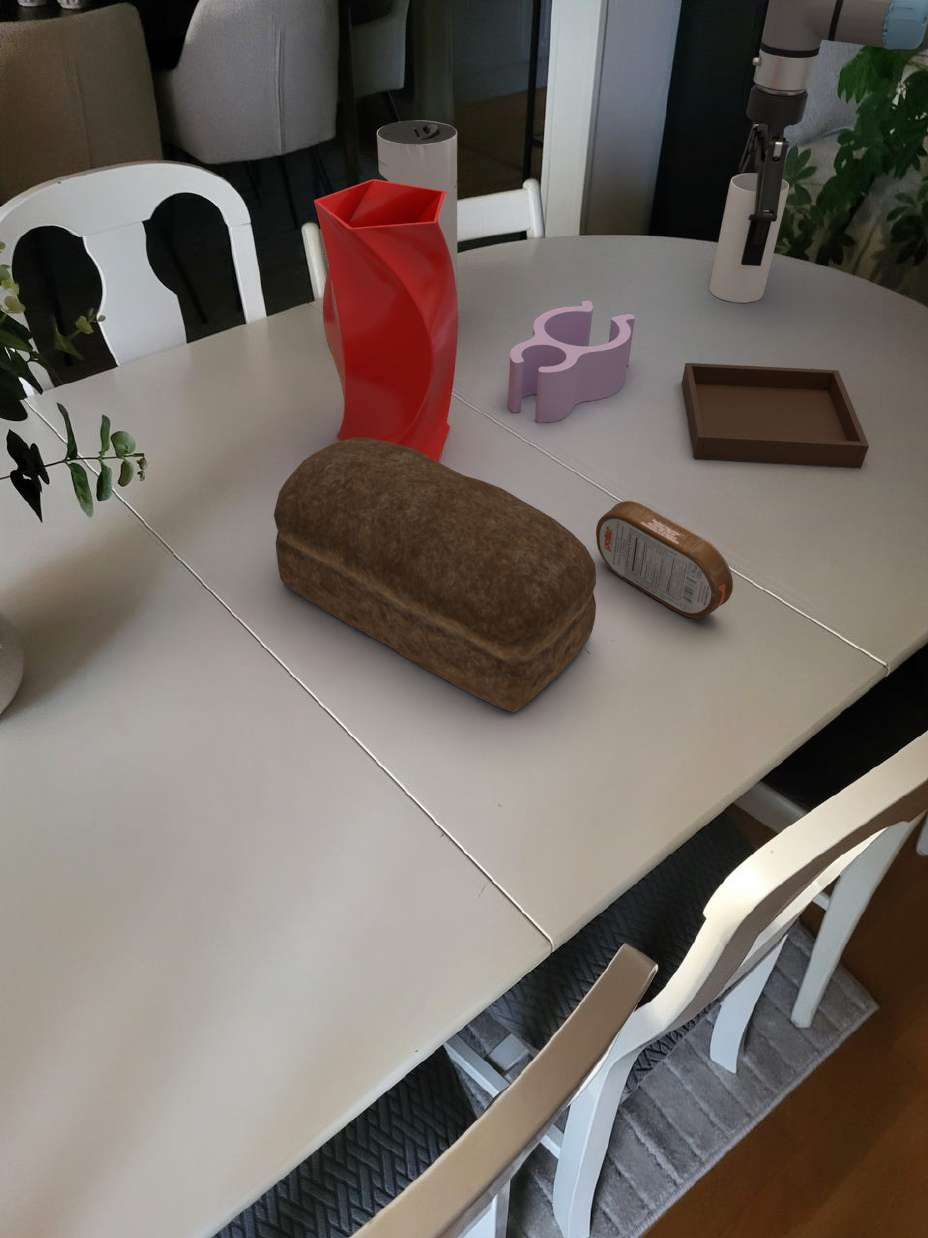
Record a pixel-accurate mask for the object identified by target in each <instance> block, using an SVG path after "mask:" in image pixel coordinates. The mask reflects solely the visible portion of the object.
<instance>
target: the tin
mask: <svg viewBox="0 0 928 1238" xmlns="http://www.w3.org/2000/svg"><path fill="white" fill-rule="evenodd" d="M595 537H596V539H595V540H596V546H597V550H598V553H599V554H600V556H601V558H602V560H603V561H604V563H605V564H606V565H607V566H608V567H609V569H610V570H611V571H612V572H613V573H614V574H615V575H617V576H618V577H619V578H621V579H622V580H624V581H626V582H628V583H629V584H631V585H632V586H634V587H635V588H637V589H639V590H640V591H642V592H643V593H645V594H647V595H648V596H650V597H652V598H653V599H655V600H656V601H658V602H660V603H661V604H663V605H664V606H666V607H668V608H669V609H671V610H672V611H674V612H675V613H677V614H679V615H681V616H684V617H688V618H691V619H699V618H704V617H707V616H709V615H710V614H712V613H714V612H715V611H716V610H718V608H720V606H723V605H724V604H726V603H727V602H728V600H729V599H730V598H731V596H732V593H733V590H734V579H733V574H732V572H731V569H730V566H729V563H728V562H727V560H726V559H725V557H724V556H723V555H722V553H721V552H720V551H719V550H718V549H717V547H715V545H713V544H712V543H711V542H709V541H708V540H706V539H704V538H702V537H701V536H699V535H698V534H696V533H694V532H692V531H690V530H689V529H687V528H686V527H683V526H681V525H680V524H677V523H676V522H674V521H672V520H671V519H669V518H668V517H665V516H663V515H662V514H660V513H658V512H657V511H655V510H653V509H652V508H650V507H648V506H646V505H644V504H643V503H640V502H637V501H632V500H625V501H620V502H618V503H617V504H615V505H614V506H613V507H612V508H611V509H610V510H608V511H607V512H606V513H604V514H603V515H602V516H601V517H600V519H598V521H597V524H596V529H595Z"/></svg>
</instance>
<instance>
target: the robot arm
mask: <svg viewBox="0 0 928 1238" xmlns="http://www.w3.org/2000/svg"><path fill="white" fill-rule="evenodd" d="M927 27H928V0H768V6H767V10H766V15H765V21H764V25H763V29H762V30H763V31H762V35H761V36H762V37H761V41H760V45H759V52H758V53H759V55H758V57H753V59H752V63H751V64H752V66H755V71H754V76H753V82H754V85H753V86H752V87H751V88H750V92H749V97H748V102H747V107H746V111H745V113H746V117H747V118H748V119H749V120H750V121H751V122H752V126H751V128H750V132H749V135H748V138H747V141H746V144H745V147H744V150H743V154H742V155H741V159H740V162H739V165H738V168H737V169H738V172H739V175H740V174H746V173H758V175H757V187H756V198H755V210H754V214H750V215H749V217H748V220H751V221H750V225H749V230H748V234H747V238H746V243H745V247H744V252H743V256H742V260H741V265H750V266H761V262H762V258H763V254H764V250H765V246H766V242H767V238H768V234H769V229H770V225H771V222H775V221H776V220H777V212H778V205H779V198H780V191H781V184H782V179H783V177H784V169H785V162H786V158H787V154H788V149H789V147H790V146H789V141H788V140H787V138H786V137H784V135H785V129H786V128H787V127H790V126H795V125H797V124H799V123H801V121H802V120H803V118H804V114H805V111H806V106H807V102H808V98H809V92H808V89H809V88H810V87H811V86H812V84H813V79H814V76H815V72H816V68H817V63H818V59H819V55H820V50H821V44H822V41H829V42H838V43H844V44H852V45H860V46H868V47H875V48H884V49H886V50H888V51H892V50H893V51H894V50H909V51H910V50H916V49H917V48H918V47H919V46H920V45H921V44H922V43H923V40H924V38H925V33H926V30H927ZM764 210H769V212H763V211H764Z"/></svg>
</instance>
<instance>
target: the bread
mask: <svg viewBox="0 0 928 1238" xmlns="http://www.w3.org/2000/svg"><path fill="white" fill-rule="evenodd" d="M273 519H274V522H275V527H276V529H277V533H276V537H275V538H276V539H275V551H276V552H275V553H276V560H277V567H278V572H279V579H280V580H281V582H282V584H283V585H284V586H285V587H286V588H288V589H290V590H292V591H294V592H295V593H296V594H298V595H300V596H302V597H303V598H305V599H306V600H308V601H309V602H311V603H313V604H314V605H316V606H318V607H319V608H321V609H322V610H324V611H325V612H327V613H328V614H330V615H332V616H334V617H336V618H337V619H339V620H341V621H342V622H344V623H346V624H348V625H349V626H352V627H353V628H355V629H356V630H359V631H360V632H362V633H364V634H366V635H368V636H369V637H372V638H374V639H375V640H377V641H379V642H381V643H382V644H384V645H386V646H388V647H390V648H391V649H393V650H395V651H396V652H398V653H399V654H401V655H402V656H404V657H406V658H407V659H409V660H410V661H412V662H413V663H415V664H417V665H418V666H420V667H421V668H423V669H425V670H426V671H429V672H431V673H433V674H435V675H437V676H439V677H440V678H441V679H444V680H446V681H448V682H449V683H451V684H453V685H454V686H456V687H458V688H460V689H462V690H463V691H465V692H468V693H470V694H472V695H473V696H475V697H477V698H479V699H481V700H483V701H484V702H487V703H489V704H491V705H493V706H495V707H498V709H499V708H500V709H502V710H504V711H509V712H511V713H515V712H516V711H518V710H520V709H521V708H523V707H524V706H526V704H528V703H529V702H530V701H531V700H533V699H534V698H535V697H536V696H538V694H539V693H541V692H542V690H544V689H545V688H546V687H547V686H548V685H549V684H550V683H551V682H552V681H553V680H554V679H555V678H556V677H557V676H558V675H559V674H560V673H561V672H562V671H563V670H564V669H565V668H567V666H568V665H569V664H570V663H571V662H572V661H573V659H575V657H576V656H577V655H578V654H579V652H580V651H581V650H582V648H583V647H584V646H585V645H586V644H587V642H588V641H589V640H590V637H591V635H592V633H593V631H594V625H595V622H596V613H597V603H596V598H595V589H596V586H597V568H596V567H597V566H596V563H595V561H594V559H593V557H592V555H591V554H590V551H589V550H588V548H587V546H586V545H584V544H583V542H582V541H581V540H580V539H579V538H578V537H577V536H576V535H575V534H574V533H572V531H570V530H569V529H568V528H567V527H565V526H564V525H562V524H561V523H560V522H559V521H557V520H556V519H555V518H554V517H552V516H550V515H548V514H547V513H545V512H543V511H542V510H540V509H539V508H537V507H535V506H533V505H531V504H529V503H527V502H526V501H523V500H522V499H521V498H519V497H517V496H515V495H514V494H512V493H511V492H510V491H509V492H508V491H507V490H506V489H504V488H501V487H499V486H497V485H495V484H492V483H490V482H487V481H485V480H481V479H478V478H475V477H470V476H467V475H464V474H462V473H460V472H458V471H455V470H453V469H452V468H450V467H448V466H446V465H444V464H442V463H441V462H440V461H439V462H437V461H436V460H434V459H432V458H430V457H428V456H426V455H425V454H423V453H421V452H419V451H417V450H415V449H412V448H408V447H405V446H402V445H398V444H393V443H388V442H383V441H379V440H376V439H372V438H350V439H346V440H342V441H340V440H338V441H336V442H334V443H331V444H329V445H327V446H326V447H323V448H322V449H320V450H318V451H316V452H314V453H312V454H310V455H309V456H308V457H306V458H305V459H304V460H302V461H301V463H300V464H299V465H298V466H297V467H296V468H295V470H293V472H292V473H291V474H290V475H289V477H287V479H286V480H285V482H284V483H283V485H282V486H281V488H280V489H279V492H278V495H277V499H276V503H275V507H274V512H273Z"/></svg>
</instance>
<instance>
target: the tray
mask: <svg viewBox="0 0 928 1238" xmlns="http://www.w3.org/2000/svg"><path fill="white" fill-rule="evenodd" d="M681 389H682V394H683V396H682V397H683V401H684V407H685V408H684V409H685V413H686V419H687V425H688V431H689V437H690V445H691V450H692V457H693V459H694V460H708V461H709V460H710V461H726V462H728V461H729V462H743V463H744V462H746V463H747V462H748V463H762V464H763V463H764V464H782V465H784V464H785V465H800V466H817V467H818V466H819V467H834V468H835V467H837V468H838V467H839V468H855V469H862V467H863V464H864V460H865V458H866V456H867V453H868V450H869V447H870V445H869V443H868V440H867V437H866V435H865V433H864V429H863V427H862V425H861V423H860V420H859V418H858V415H857V413H856V410H855V408H854V406H853V403H852V401H851V398H850V395H849V393H848V390H847V388H846V385H845V383H844V381H843V378H842V376H841V374H840V371H839V370H837V369H820V368H819V369H818V368H802V367H801V368H799V367H779V366H761V365H760V366H759V365H738V364H722V363H721V364H718V363H701V362H699V363H698V362H697V363H696V362H685V365H684V369H683V373H682V380H681Z"/></svg>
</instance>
